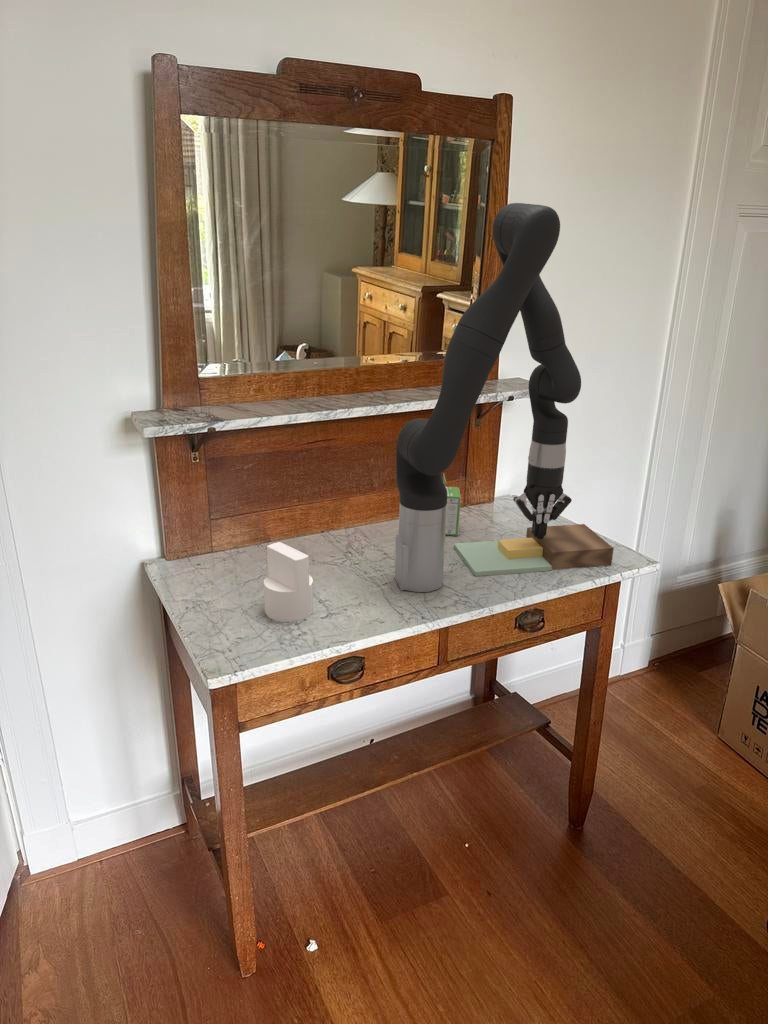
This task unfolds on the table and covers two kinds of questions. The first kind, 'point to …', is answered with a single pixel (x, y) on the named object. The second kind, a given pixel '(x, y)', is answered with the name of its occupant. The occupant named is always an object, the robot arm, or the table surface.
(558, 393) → the robot arm
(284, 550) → the base with upright slab
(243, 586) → the table surface
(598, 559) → the brown wooden block
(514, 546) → the tile
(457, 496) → the ink box
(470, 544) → the mat
